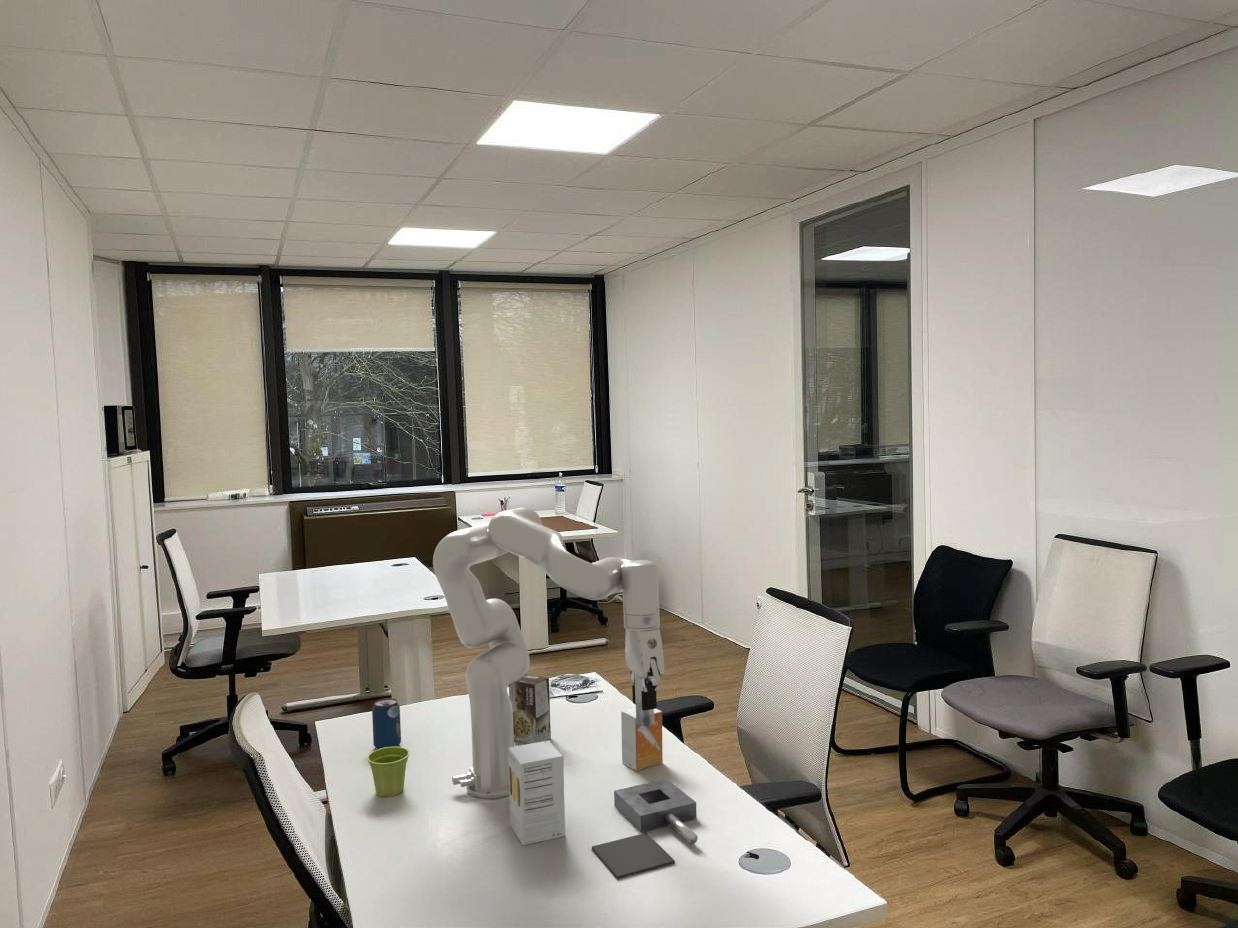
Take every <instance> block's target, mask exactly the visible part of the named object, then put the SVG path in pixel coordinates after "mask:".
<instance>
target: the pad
mask: <svg viewBox="0 0 1238 928" xmlns="http://www.w3.org/2000/svg"><path fill="white" fill-rule="evenodd" d="M591 850H592V852H594V854H595V855H596V856H597V858H599V860H600V861H601V862H602V863H603V864H604V866H605V867H606V868H607V869H608V870H609V872H610V873H611V874H612V875H613V876H614V877H615V879H616V880H620V879H624V878H628V877H631V876H635V875H639V874H641V873H642V874H643V873H646V872H650V871H654V870H657V869H660V868H664V867H667V866H671V865H675V864H676V860H675V859H674V858H673V857H672V856H671V855H670V854H669V853H668V852H667V851H666V850H665V848H663V847H662V846H661V845H660V844H659V843H658V842H657V841H656V840H654V839H653V837H652V836H651V835H650V834H649V833H647V832H642V833H640V834H635V835H632V836H628V837H623V838H621V839H616V840H612V841H609V842H608V841H607V842H604V843H600V844H596V845H592V846H591Z"/></svg>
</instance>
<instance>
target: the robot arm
mask: <svg viewBox="0 0 1238 928" xmlns="http://www.w3.org/2000/svg"><path fill="white" fill-rule="evenodd" d="M508 553H511V554H512V555H515V556H517V557H519V558H521V559H523V560H526V561H527V562H529V563H531V564H534V565H535V566H538V567H539V568H541V569H542V570H543V571H544V573H545V574H546V575H547V576H548V577H549V578H550V580H551V581H553V583H554V584H556V585H558V586H559V587H560V588H563V589H564V590H566V591H568V592H570V593H572V594H574V595H576V596H578V597H581V598H583V599H586V600H591V601H600V600H603V599H605V598H607V597H609V596H610V595H613V594H617V593H619V592H622V604H623V605H622V606H623V607H622V608H623V628H624V629H625V635H624V636H625V637H624V638H625V640H624V645H625V646H624V652H625V655H624V657H625V665H626V667H627V669H629V672H630V677H631V679H630V682H631V687H632V693H631V694H632V704H634V705H636V702H635V674H634V672H635V673H636V674H638V675H639V676H641V677H642V686H643V691H641V698H642V710H644V711H646V710H651V709H658V704H657V703H658V702H657V691H658V685H659V684H660V683H661V677H660V676H664V674H665V661H664V660H665V659H664V650H663V640H662V635H661V629H660V627H661V620H660V619H661V618H660V617H661V616H660V594H659V593H660V591H659V590H660V589H659V588H660V587H659V569H658V568H659V567H658V565H657V564H656V562H654V561H652V560H649V559H648V560H647V559H637V560H630V559H626V558H621V557H614V556H609V557H604V558H603V559H600V560H597V561H595V562H590V561H587V560H584V559H582V558H580V557H577V556H576V555H574V554H572V553H570V552H569V551H567V549H565V548H564V537H563V535H562V534H561V533H560V532H559V531H557V530H555V529H551V528H550V527H547V526H545V525H543V522H542V519H541V516H540V515H539V514H538V513H537V512H536V511H535V510H533V509H531V508H528V507H523V506H522V507H516V508H512V509H507V510H503V511H500V512H498V513H496V514H495V515H494V516H493V517H492V518H491V519H490V521H488V522H486V523H483V524H479V525H474V526H471V527H467V528H461V529H458V530H455V531H453V532H450V533H448V534H447V535H446V536H444V537H443V538H442V539H441V540H440V541H439V542H438V543H437V545H436V547H435V549H434V553H433V557H432V567H433V572H434V574H435V577H436V579H437V581H438V584H439V585H440V589H441V590H442V593H443V595H444V599H445V601H446V604H447V608H448V611H449V613H450V614H449V615H450V616H451V619H452V624H453V625H454V629H455V631H456V634H457V637H458V639H459V641H460V643H461V644H462V645H463V646H465V647H466V648H468V649H477V648H478V649H479V648H480V647H483V646H486V645H487V644H488V647H489V649H487V650H485V651H482V652H481V653H479V654H477V655H476V656H475V657H474V658H472V659H471V661H470V662H468V665H467V667H466V670H465V677H464V678H465V685H466V689H467V692H468V693H467V694H468V698H469V708H470V724H471V725H470V726H471V749H472V750H471V751H472V755H471V756H472V766H469V769H468V770H469V771H467V772H465V773H464V774H458V775H453V776H452V777H451V781H452V786H455V785H456V786H457V785H460V787H461V788H466V791H467V793H468V794H470V795H471V796H473V797H475V798H480V799H488V800H489V799H490V800H491V799H498V798H500V799H501V798H505V797H507V796H510V792H509V757H508V748H510V747H514V746H515V740H514V729H513V709H512V703H511V700H510V698H509V692H508V688H509V686H510V685H511V684H513V683H515V682H516V681H518V680H520V679H521V678H522V677H524V676H525V674H528V671H529V669H530V665H531V664H530V662H531V661H530V660H531V659H530V654H529V651H528V650H529V649H528V648H527V645H526V643H525V639H524V636H523V632H522V631H521V628H520V624H519V622H518V618H517V616H516V614H515V611H514V610H513V608H512V607H511V606H510V605H509V604H508V603H507V602H506V601H504V600H502V599H500V598H488V599H486V596H485V593H484V591H483V588H482V585H481V583H480V581H479V580H478V578H477V577H476V575H475V574H474V573H473V572H472V571H471V570H470V567H471V566H473V565H477V564H481V563H484V562H488V561H490V560H494V559H496V558H498V557H501V556H503V555H505V554H508ZM647 673H651V675H647ZM646 679H651V681H648V683H647V680H646Z"/></svg>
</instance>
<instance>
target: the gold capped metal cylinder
mask: <svg viewBox="0 0 1238 928" xmlns="http://www.w3.org/2000/svg"><path fill="white" fill-rule="evenodd" d="M634 674H635V702H636V704H635V707H636V724H637V725H639V726H650V725H653V724H654V709H651V710H646V711H644V710H642V698H641V691H643V686H642V677H641V676H639V675H638V674H636V673H635V672H634ZM647 675H651V673H647ZM646 680H647V683H648V681H651V679H646Z"/></svg>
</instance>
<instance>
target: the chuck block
mask: <svg viewBox="0 0 1238 928" xmlns="http://www.w3.org/2000/svg"><path fill="white" fill-rule="evenodd" d="M613 796H614V797H613V802H614V803H613V804H614V808H615V809H616V810H617V811H618V812H619V813H620V814H622V816H624V817H625V819H627V820H628V822H630V824H631V825H633V827H635V828H636V830H637V831H638V832H640V834H643V833H647V832H649V831H653V830H658V829H662V828H664V827H669V826H670V827H671V828H672V829H674V830H675V831H676V832H677V833H679V835H680V836H682V838H683V839H685V840H686V841H687V842H688V843H689V844H690V845H694V844H695V843H697V841H698V835H697V833H695V832H694V831H693V830H692V829H690V828H689V827H688V826H687V825H686V824H685V822H689V821H692V820H696V819H697V816H698V815H697V802H696V801H695V800H694V799H693V798H692V797H690V796H689V794H687V793H686V792H684V790H682V789H681V788H680V787H678V786H677V785H676V784H674V783H673V782H672V781H671V780H669V779H668V778H664V779H661V780H660V779H659V780H655V781H651V782H647V783H642V784H637V785H634V786H628V787H625V788H624V787H623V788H620V789H616V790H614V791H613Z"/></svg>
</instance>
